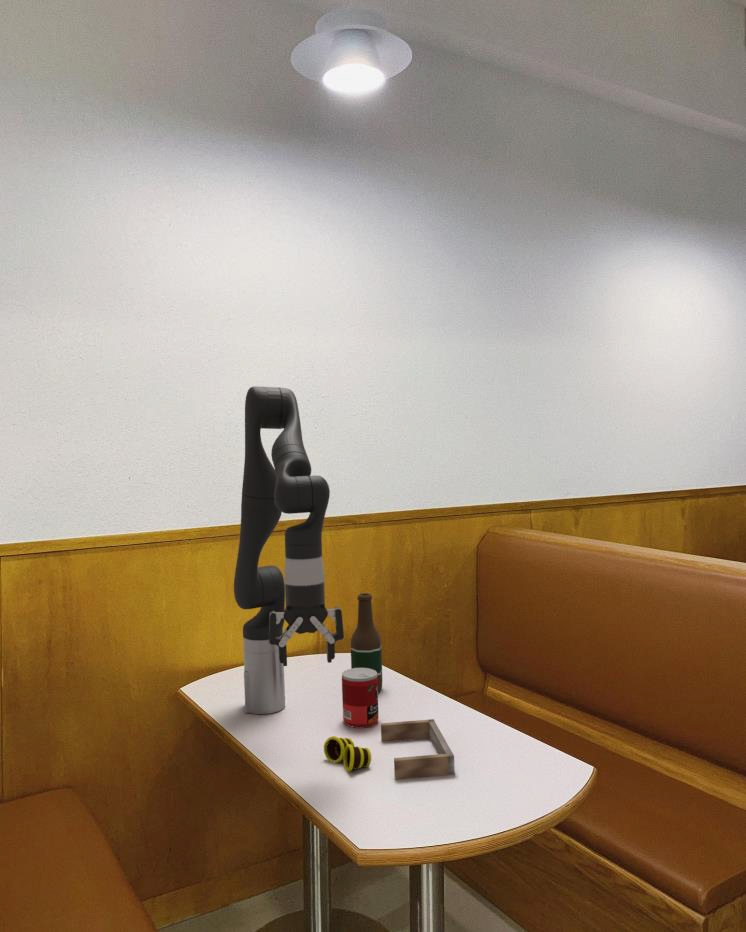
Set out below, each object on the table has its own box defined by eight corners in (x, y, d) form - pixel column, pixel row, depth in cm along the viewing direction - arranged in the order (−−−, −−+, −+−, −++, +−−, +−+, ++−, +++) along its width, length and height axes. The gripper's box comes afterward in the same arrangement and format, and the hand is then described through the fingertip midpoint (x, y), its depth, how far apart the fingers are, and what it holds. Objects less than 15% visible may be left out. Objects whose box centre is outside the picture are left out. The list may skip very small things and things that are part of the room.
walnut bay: (395, 779, 145) (395, 760, 145) (381, 739, 163) (380, 723, 163) (454, 774, 147) (454, 755, 147) (433, 735, 165) (433, 719, 165)
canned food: (375, 729, 169) (373, 679, 169) (339, 727, 171) (337, 677, 170) (381, 716, 177) (380, 668, 176) (347, 714, 178) (345, 666, 178)
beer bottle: (388, 687, 195) (386, 592, 194) (372, 697, 189) (369, 599, 187) (362, 682, 199) (360, 589, 198) (345, 692, 193) (342, 595, 192)
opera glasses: (372, 773, 150) (375, 746, 151) (349, 776, 147) (353, 749, 147) (343, 756, 158) (346, 731, 158) (321, 758, 155) (324, 733, 155)
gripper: (339, 574, 155) (341, 655, 156) (266, 578, 153) (269, 660, 153) (343, 581, 147) (346, 666, 148) (267, 586, 145) (270, 672, 146)
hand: (307, 663), depth 151 cm, fingers open, 8 cm apart
